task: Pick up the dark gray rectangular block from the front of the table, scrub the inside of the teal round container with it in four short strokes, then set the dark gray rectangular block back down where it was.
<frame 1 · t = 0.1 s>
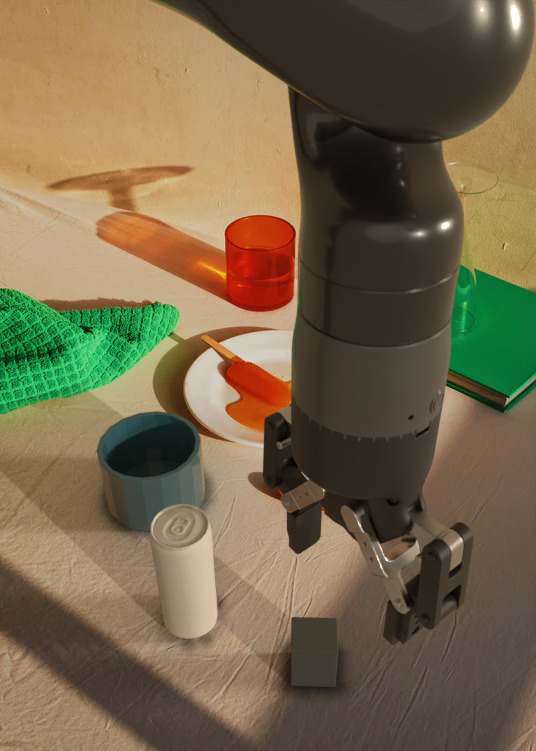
hand: (349, 587, 46), 17 cm above the table, tool pointing down, fingers open, 8 cm apart
beverage can: (191, 619, 64), on the table
teal round container: (156, 494, 76), on the table
dark gray rectangular block: (312, 669, 60), on the table
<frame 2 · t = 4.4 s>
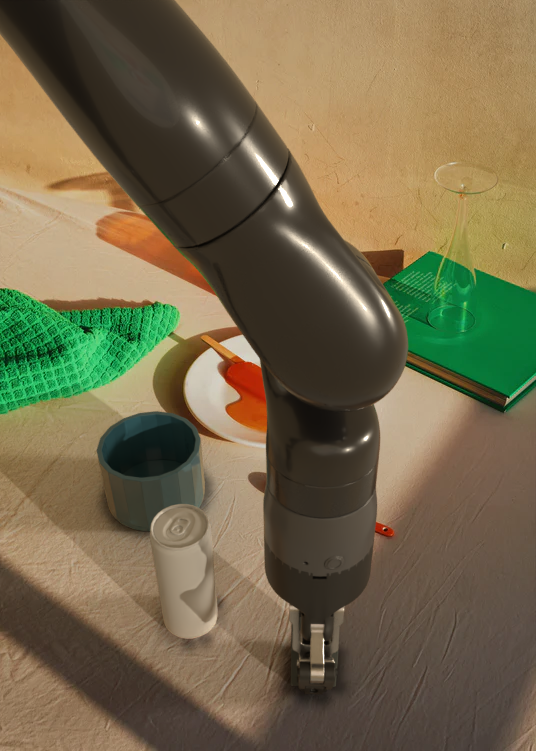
hand: (313, 667, 60), 0 cm above the table, tool pointing down, fingers closed on dark gray rectangular block, 3 cm apart
dark gray rectangular block: (312, 669, 60), on the table, touching gripper
everything else where it was.
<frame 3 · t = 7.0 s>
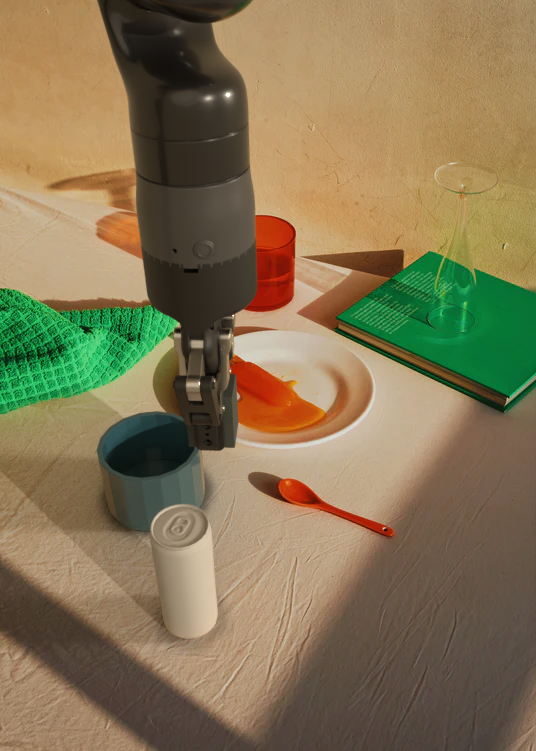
hand: (213, 431, 58), 17 cm above the table, tool pointing down, fingers closed on dark gray rectangular block, 3 cm apart
dark gray rectangular block: (214, 434, 58), point 17 cm above the table, touching gripper
everything else where it was.
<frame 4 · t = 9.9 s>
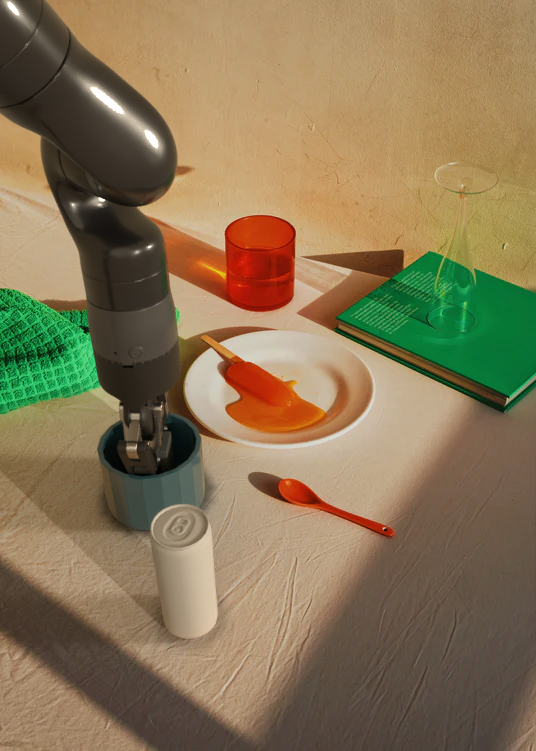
hand: (154, 475, 75), 3 cm above the table, tool pointing down, fingers closed on dark gray rectangular block, 3 cm apart
teal round container: (156, 493, 76), on the table, touching gripper, hand
dark gray rectangular block: (155, 477, 75), point 2 cm above the table, touching gripper
everything else where it was.
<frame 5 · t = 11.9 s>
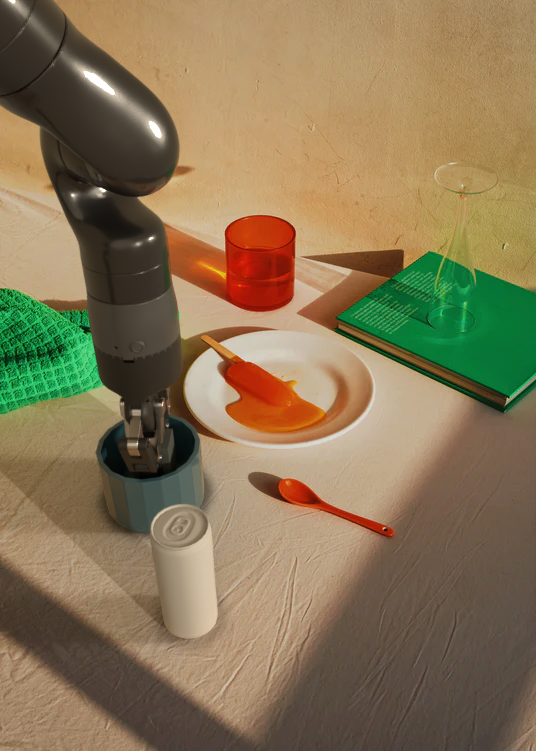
hand: (156, 473, 73), 4 cm above the table, tool pointing down, fingers closed on dark gray rectangular block, 3 cm apart
teal round container: (155, 495, 76), on the table
dark gray rectangular block: (157, 475, 74), point 3 cm above the table, touching gripper
everything else where it was.
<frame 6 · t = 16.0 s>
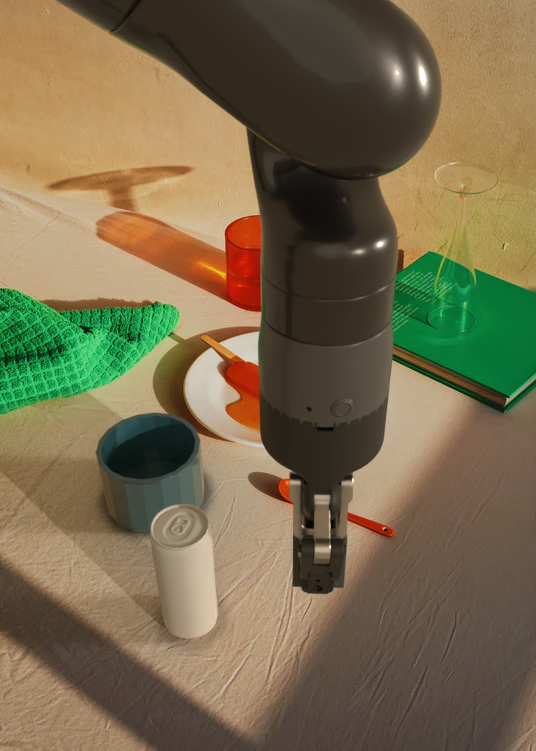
hand: (316, 567, 53), 13 cm above the table, tool pointing down, fingers closed on dark gray rectangular block, 3 cm apart
dark gray rectangular block: (317, 570, 53), point 13 cm above the table, touching gripper
everything else where it was.
when the fingers open (0 cm above the table, at t = 19.1 s): dark gray rectangular block stays where it is, on the table.
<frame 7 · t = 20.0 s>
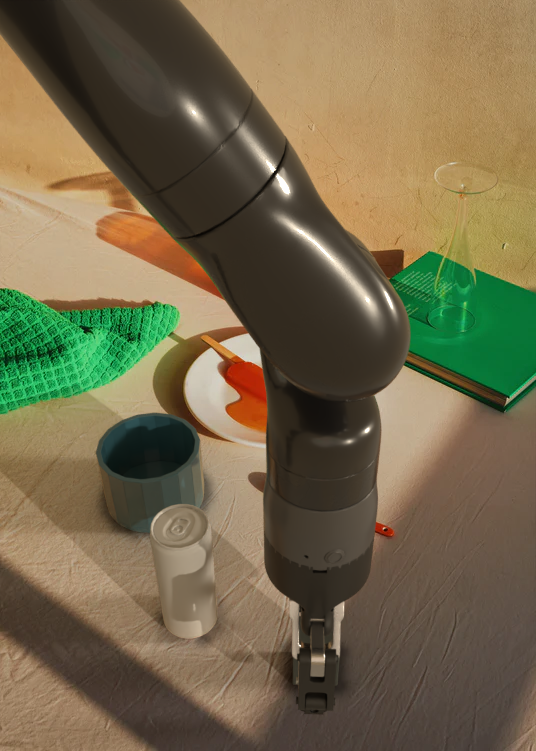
hand: (312, 656, 59), 2 cm above the table, tool pointing down, fingers open, 8 cm apart
dark gray rectangular block: (314, 668, 60), on the table
everything else where it was.
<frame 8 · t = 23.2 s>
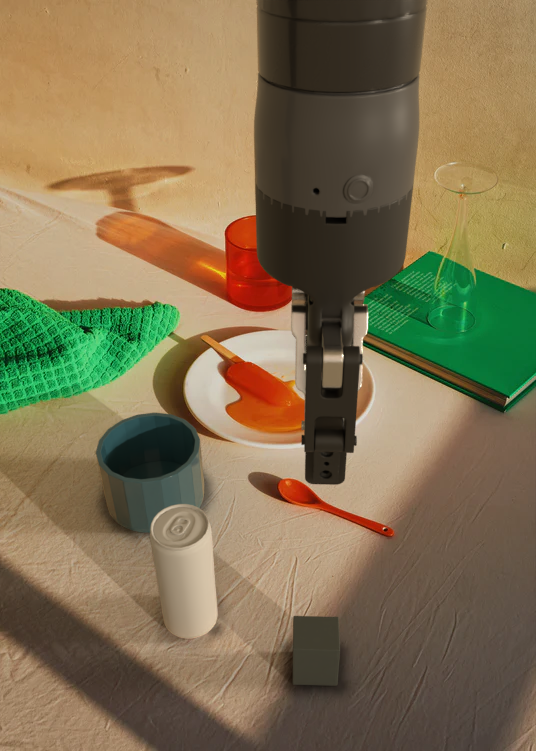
hand: (323, 429, 45), 26 cm above the table, tool pointing down, fingers open, 8 cm apart
nothing on the table moved.
at the end: dark gray rectangular block 0.2 cm from the target spot, on the table; the gripper is holding nothing; teal round container tilted 0° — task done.
